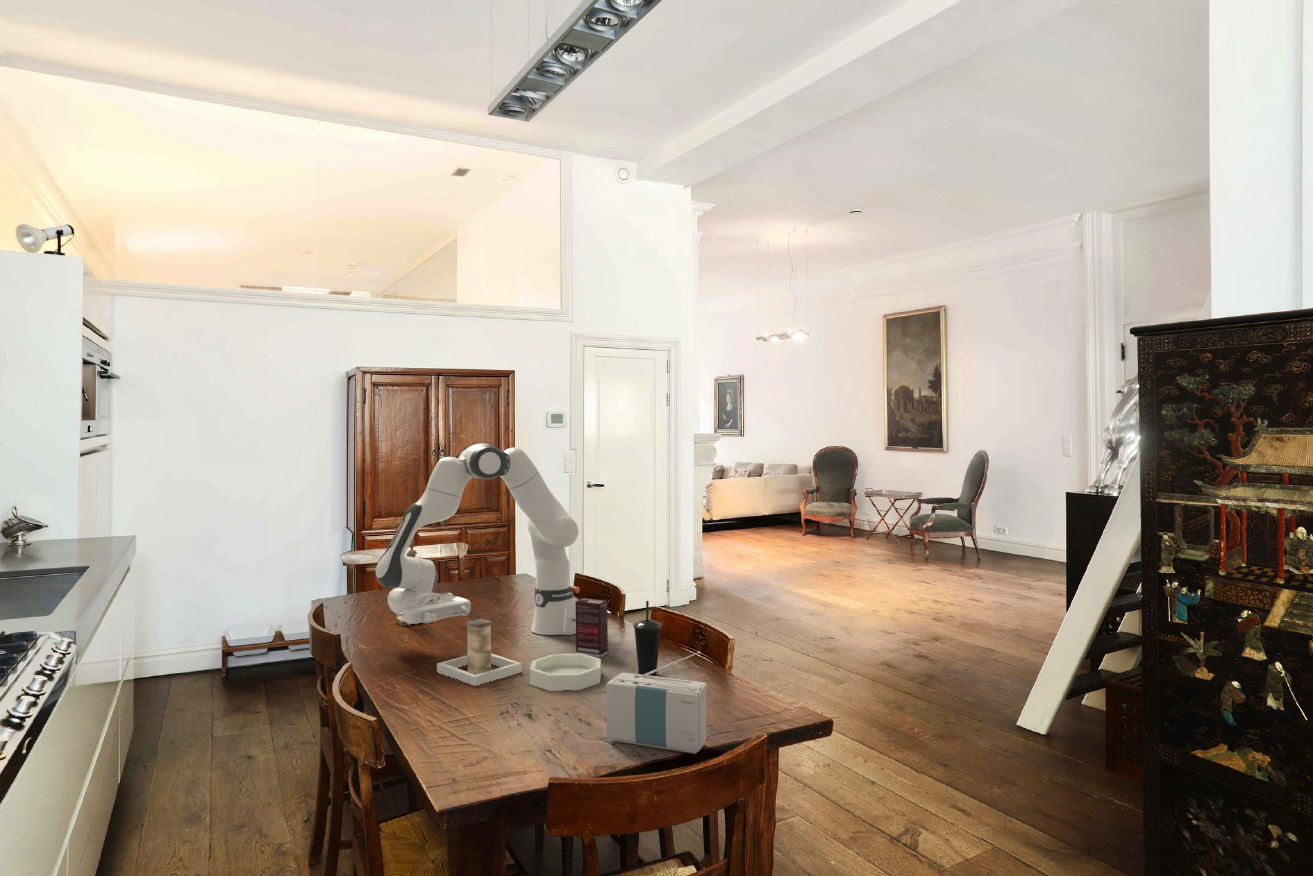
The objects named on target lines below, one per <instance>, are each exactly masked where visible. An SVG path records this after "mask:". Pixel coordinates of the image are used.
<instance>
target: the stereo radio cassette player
mask: <svg viewBox="0 0 1313 876" xmlns="http://www.w3.org/2000/svg"><path fill="white" fill-rule="evenodd" d="M697 654H698V655H700V654H701V651H700V650H699V651H697V652H695V653H693V654H691V655H688V656H686V657H683V658H680V659H678V660H676V661H673V662H670V663H668V664H665V665H662V666H660V667H659V668H658V667H657V669H656V670H653V671H651V672H648V673H646V674H644V675H640V674H639V673H637V674H636V673H630V672H620V673H619V674H617V675H616V676H614V677H613V678H612V679H610V680H609V681H607V683H606V690H605V694H606V695H605V697H606V698H605V699H606V700H605V715H606V718H605V719H606V720H605V723H606V738H607V739H610V741H613V742H614V743H616V742H618V743H619V742H620V743H625V744H629V745H630V744H631V745H637V746H645V747H650V748H656V749H663V750H669V751H670V750H671V751H677V752H683V753H689V754H692V755H695V754H697V753H698V752H700V750H701V749H702V748H703V746H704V745H705V742H706V740H707V690H708V685H707V683H706V682H705V681H704V682H703V681H698V680H696V681H694V680H688V679H681V678H680V679H679V678H670V677H663V676H657V675H656V676H648V675H649V674H652V673H654V672H659V671H661V670H663V669H666V668H669V667H670V666H673V665H675V664H678V663H680V662H682V661H684V660H686V659H688V658H691V657H693V656H695V655H697Z"/></svg>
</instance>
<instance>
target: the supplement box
mask: <svg viewBox="0 0 1313 876" xmlns="http://www.w3.org/2000/svg"><path fill="white" fill-rule="evenodd" d="M575 602H576V633H575V649H576V650H575V652H576V653H575V654H579V653H582V654H585V655H589V656H592V657H596V658H603V657H604V656H607V655H608V654H609V644H608V643H609V634H608V633H609V631H608V630H609V629H608V628H609V627H608V625H609V624H608V600H605V599H604V600H603V599H594V598H584V597H583V598H581V599H578V600H577V601H575Z"/></svg>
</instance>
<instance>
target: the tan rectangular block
mask: <svg viewBox="0 0 1313 876" xmlns="http://www.w3.org/2000/svg"><path fill="white" fill-rule="evenodd" d="M465 623H466V629H467V630H466V631H467V632H466V633H467V635H466V637H467V642H466V643H467V647H466V648H467V650H466V652H467V655H466V656H468V666H467V672H470V673H472V674H475V675H477V674H481V673H484V672H487V671H491V670H492V664H491V653H492V639H491V637H492V632H491V631H492V629H491V628H492V623H493V622H492V621H491V620H488V619H484V618H478V619H474V620H473V619H472V620H469V621H465Z"/></svg>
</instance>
